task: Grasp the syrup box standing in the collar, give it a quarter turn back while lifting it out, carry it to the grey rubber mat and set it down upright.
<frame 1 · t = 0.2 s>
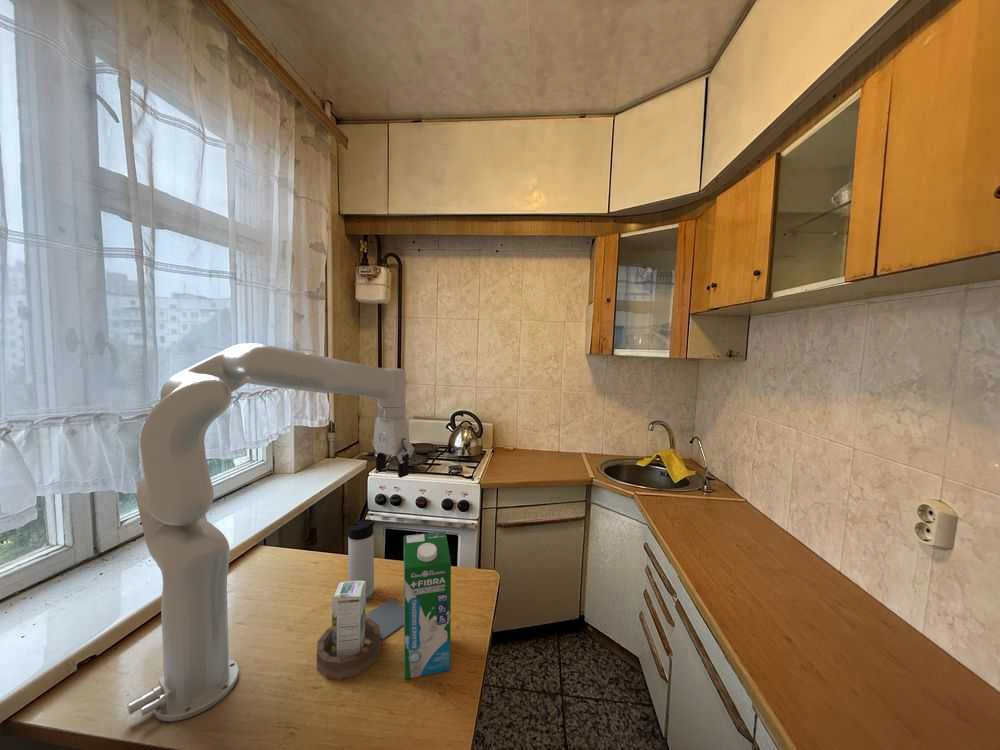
hand: (391, 472, 105), 31 cm above the table, fingers open, 9 cm apart
mat: (387, 618, 90), on the table
collar: (349, 654, 80), on the table
syrup box: (349, 655, 80), resting in collar
milk carton: (426, 658, 79), on the table
travel mug: (362, 596, 99), on the table
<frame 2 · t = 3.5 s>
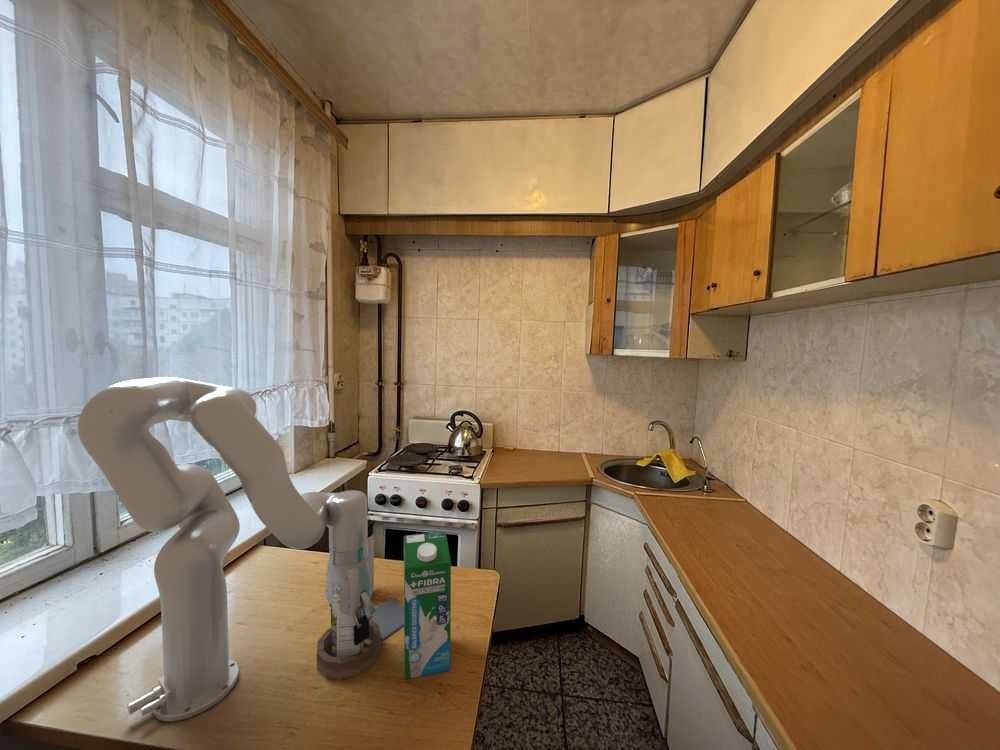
hand: (349, 631, 79), 5 cm above the table, fingers closed on syrup box, 7 cm apart
syrup box: (349, 655, 80), resting in collar, touching gripper
everything else where it was.
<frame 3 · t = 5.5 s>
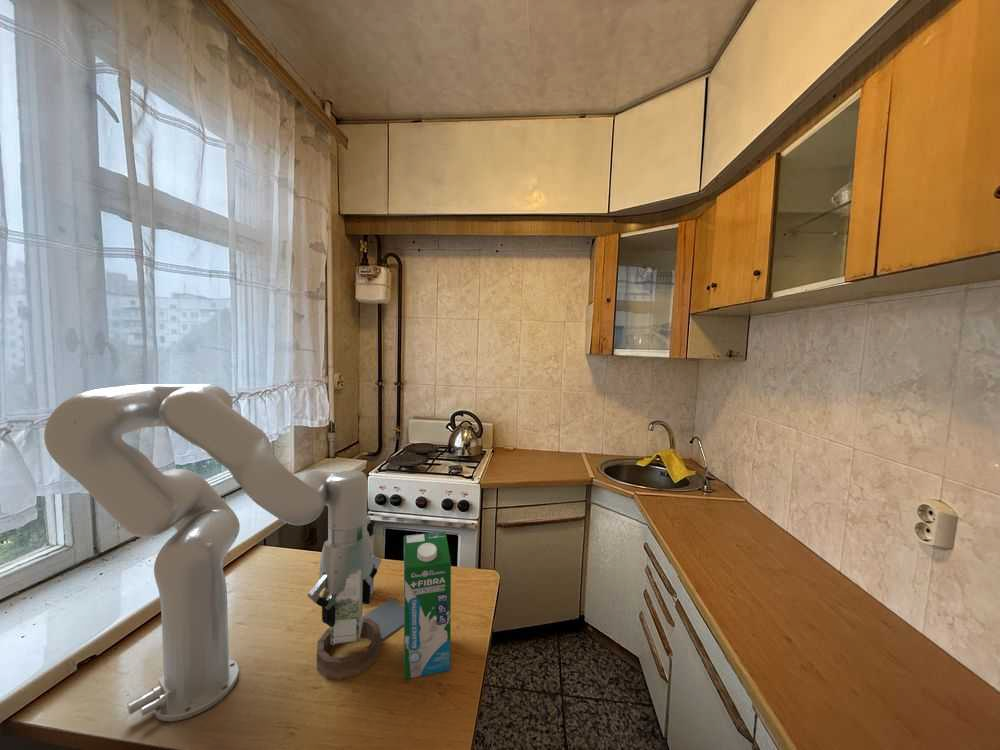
hand: (347, 611, 79), 9 cm above the table, fingers closed on syrup box, 7 cm apart
syrup box: (347, 635, 79), point 4 cm above the table, touching gripper
everything else where it was.
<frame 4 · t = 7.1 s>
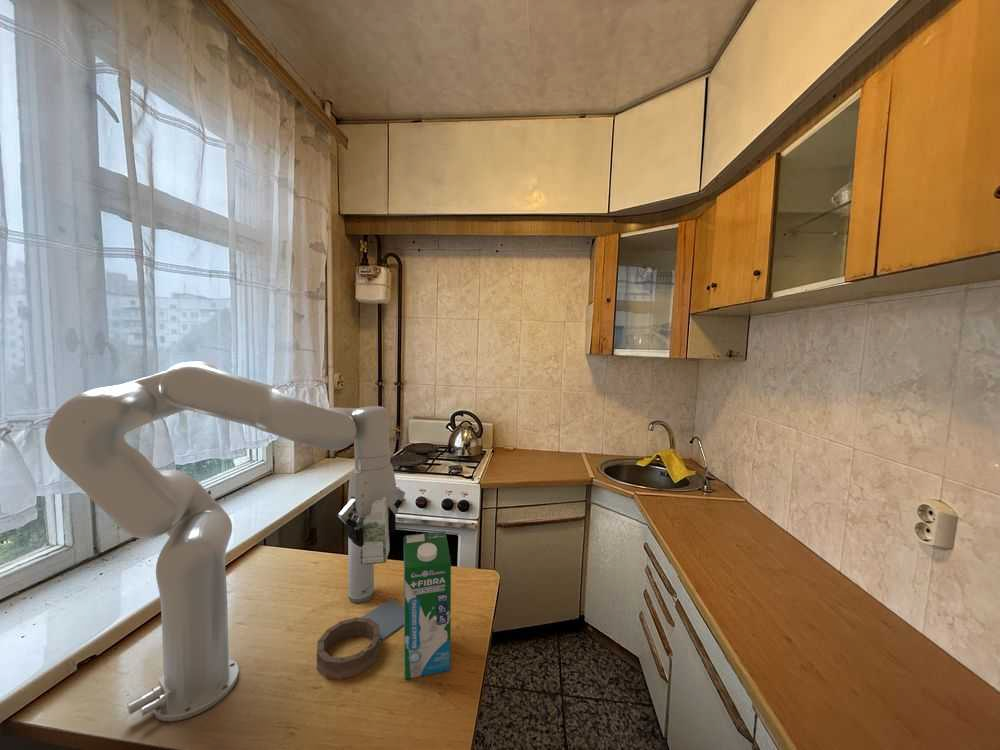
hand: (374, 536, 85), 22 cm above the table, fingers closed on syrup box, 7 cm apart
syrup box: (375, 558, 85), point 17 cm above the table, touching gripper
everything else where it was.
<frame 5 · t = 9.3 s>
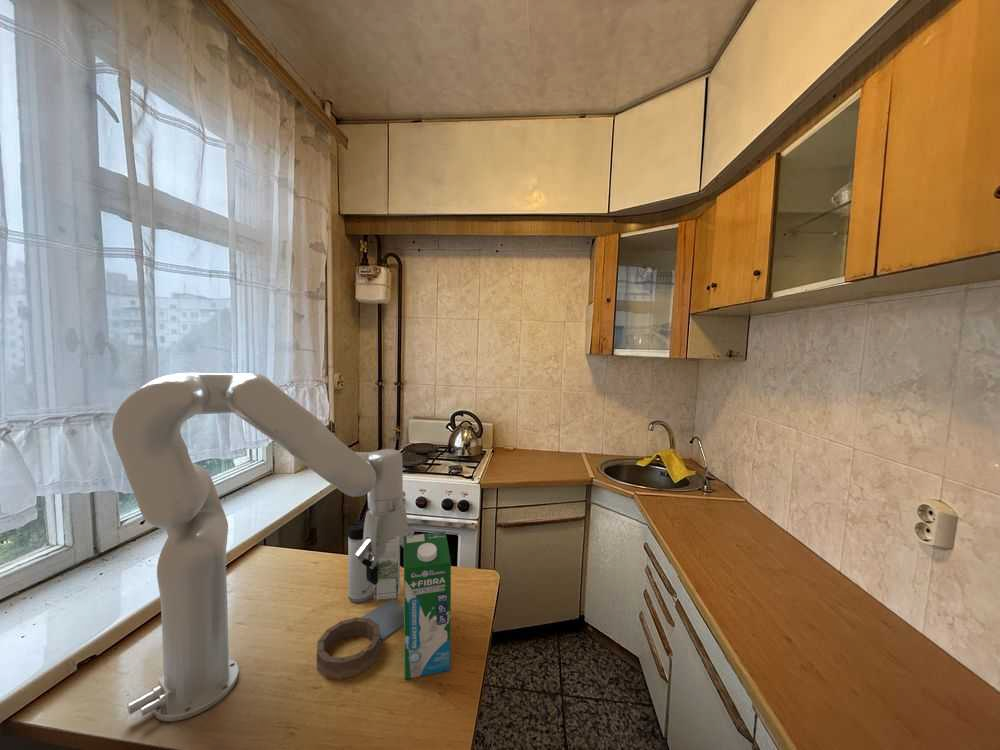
hand: (387, 573, 90), 11 cm above the table, fingers closed on syrup box, 7 cm apart
syrup box: (387, 593, 90), point 6 cm above the table, touching gripper
everything else where it was.
when the fingers open (7 cm above the table, at t = 10.8 s): syrup box drops 1 cm, resting on mat.
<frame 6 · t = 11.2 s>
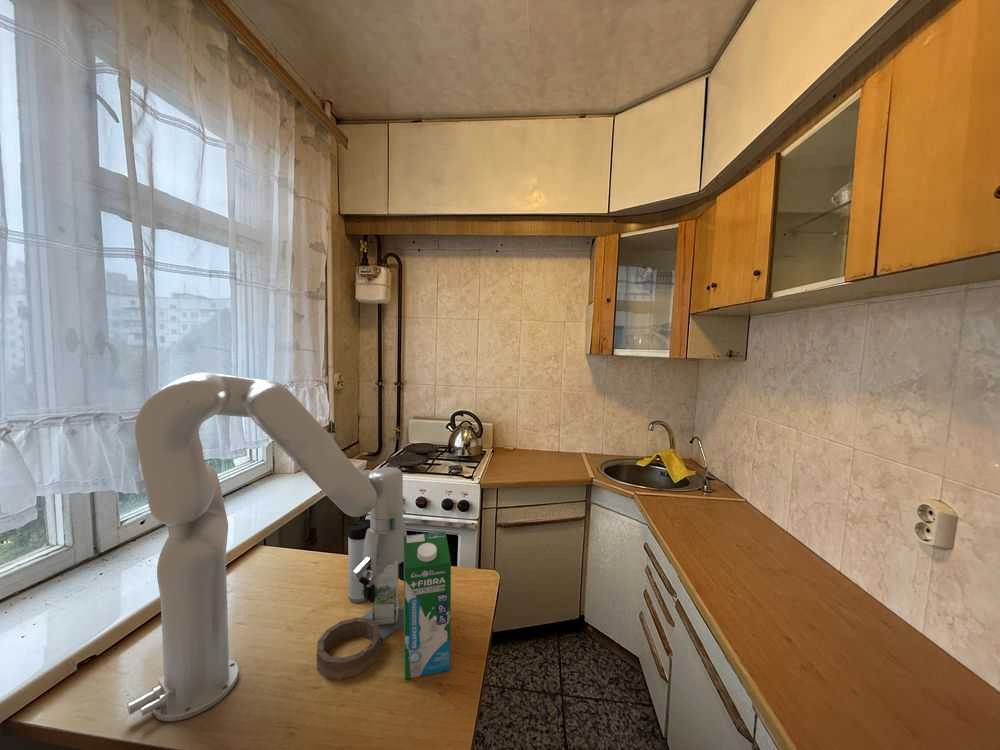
hand: (386, 589, 90), 7 cm above the table, fingers open, 9 cm apart
syrup box: (385, 618, 90), resting on mat
everything else where it was.
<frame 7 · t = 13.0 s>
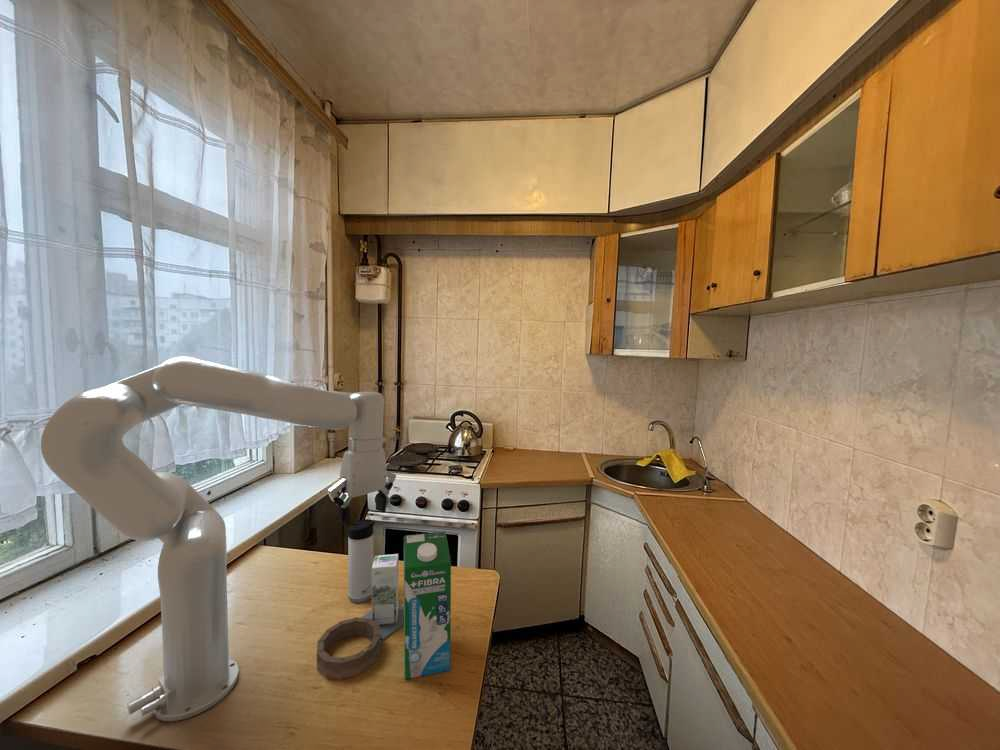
hand: (363, 516, 88), 26 cm above the table, fingers open, 9 cm apart
nothing on the table moved.
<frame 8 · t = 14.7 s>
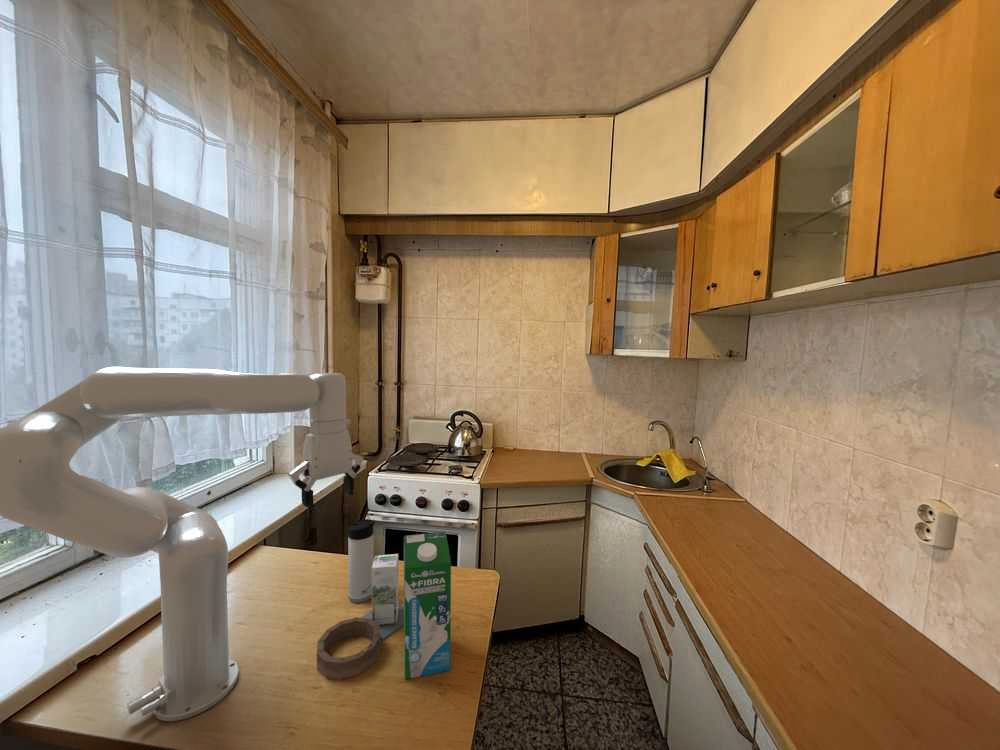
hand: (329, 500, 86), 30 cm above the table, fingers open, 9 cm apart
nothing on the table moved.
at the end: syrup box inside the target area on the mat (0.3 cm from its centre), point 0.2 cm above the mat's base; syrup box tilted 0°; the gripper is holding nothing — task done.
